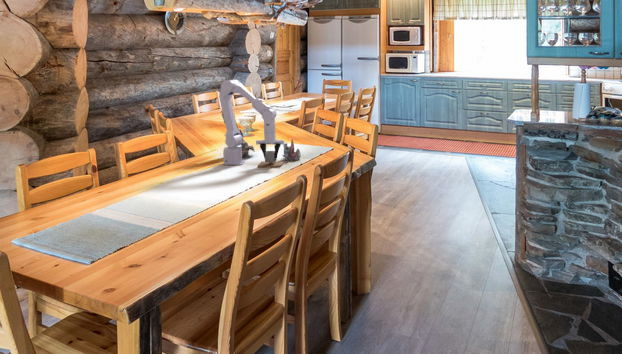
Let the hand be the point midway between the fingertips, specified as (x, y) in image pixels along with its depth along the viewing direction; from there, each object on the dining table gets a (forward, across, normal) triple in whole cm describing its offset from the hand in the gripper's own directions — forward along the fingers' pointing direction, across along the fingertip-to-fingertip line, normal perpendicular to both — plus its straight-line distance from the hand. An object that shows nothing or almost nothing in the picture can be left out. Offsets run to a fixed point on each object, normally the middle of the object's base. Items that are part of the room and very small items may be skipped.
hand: (270, 158), depth 295 cm
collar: (+2, 0, 0) cm, 2 cm away
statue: (+4, -23, +24) cm, 33 cm away
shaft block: (+4, 0, 0) cm, 4 cm away
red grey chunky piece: (+4, +8, +17) cm, 19 cm away
